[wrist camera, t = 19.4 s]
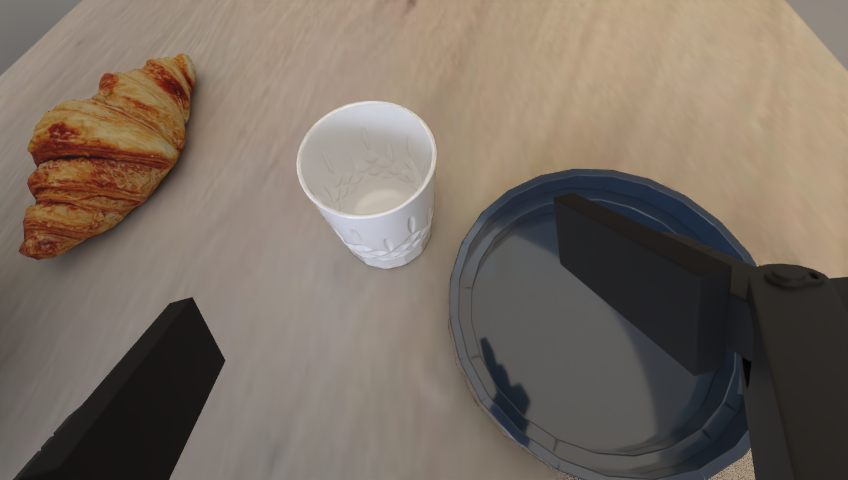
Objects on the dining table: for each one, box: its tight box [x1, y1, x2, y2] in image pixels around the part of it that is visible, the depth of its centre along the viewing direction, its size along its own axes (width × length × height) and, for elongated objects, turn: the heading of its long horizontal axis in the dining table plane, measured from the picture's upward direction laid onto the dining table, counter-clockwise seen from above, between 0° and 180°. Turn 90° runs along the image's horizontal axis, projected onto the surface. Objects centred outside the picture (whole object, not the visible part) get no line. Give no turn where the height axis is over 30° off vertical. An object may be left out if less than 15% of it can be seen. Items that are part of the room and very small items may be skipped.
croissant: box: [19, 54, 196, 260], centre depth 33 cm, size 21×10×8 cm, turn 163°
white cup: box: [297, 100, 437, 269], centre depth 27 cm, size 8×8×10 cm
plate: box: [448, 169, 757, 480], centre depth 26 cm, size 20×20×4 cm
